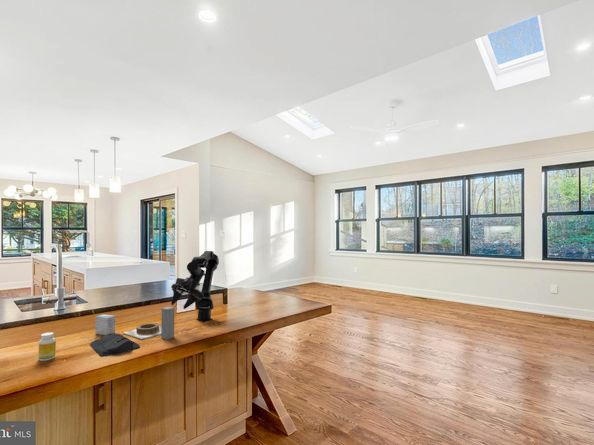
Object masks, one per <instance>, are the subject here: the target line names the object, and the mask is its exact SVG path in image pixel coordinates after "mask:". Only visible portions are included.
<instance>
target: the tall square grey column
mask: <svg viewBox="0 0 594 445" xmlns="http://www.w3.org/2000/svg"><path fill="white" fill-rule="evenodd" d="M160 327H161V336H160V337H161V339H163V340H165V341H166V340H170V339H173V338H175V307H172V306H166V307H162V308H161V326H160Z"/></svg>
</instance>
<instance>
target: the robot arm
mask: <svg viewBox="0 0 594 445" xmlns="http://www.w3.org/2000/svg"><path fill="white" fill-rule="evenodd" d="M219 263H220V259H219V256H218V255H217V254H215V253H214V251H212V250H205V251H204V252H203V253H202V254H201V255H199V256H194V257H193V258H192V259H191V261H190V262H189V263H188V264H186V270H187V271H188V273H189V274H190V275H189V276H188V277H185V279H184V278H180V277H177V278H176V281H175V283H173V284H172V285H171V287H170V288H171V291H172V292H173V293H172V294H173V295H172V299H171V303H170V305H171V306H174V305H175V304H176V303H177V302H178V300H180V298H181V297H182V296H183V294H184V293H187V294H188V298H187V300H186V301H185V303H184V305H183V309H184V310H185V309H187V308H189V307H190V306H191V305H193V304H195V310H197V318H196V319H195V320H196V321H198V322H199V321H200V322H203V323H205V322H208V321H211V320H213V318H212V317H211V312H212V310H214V303H213V302H214V301H213V300H212V299H213V298H212V296H211V288H212V281H213V276H214V272H215V270H217V269H218V265H219ZM204 269H205V270H204ZM202 279H203V282H202V287H201V288H202V289H201V290H199V289H198V288H197V287H199V286H201V284H200V282H201V281H202Z"/></svg>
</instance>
